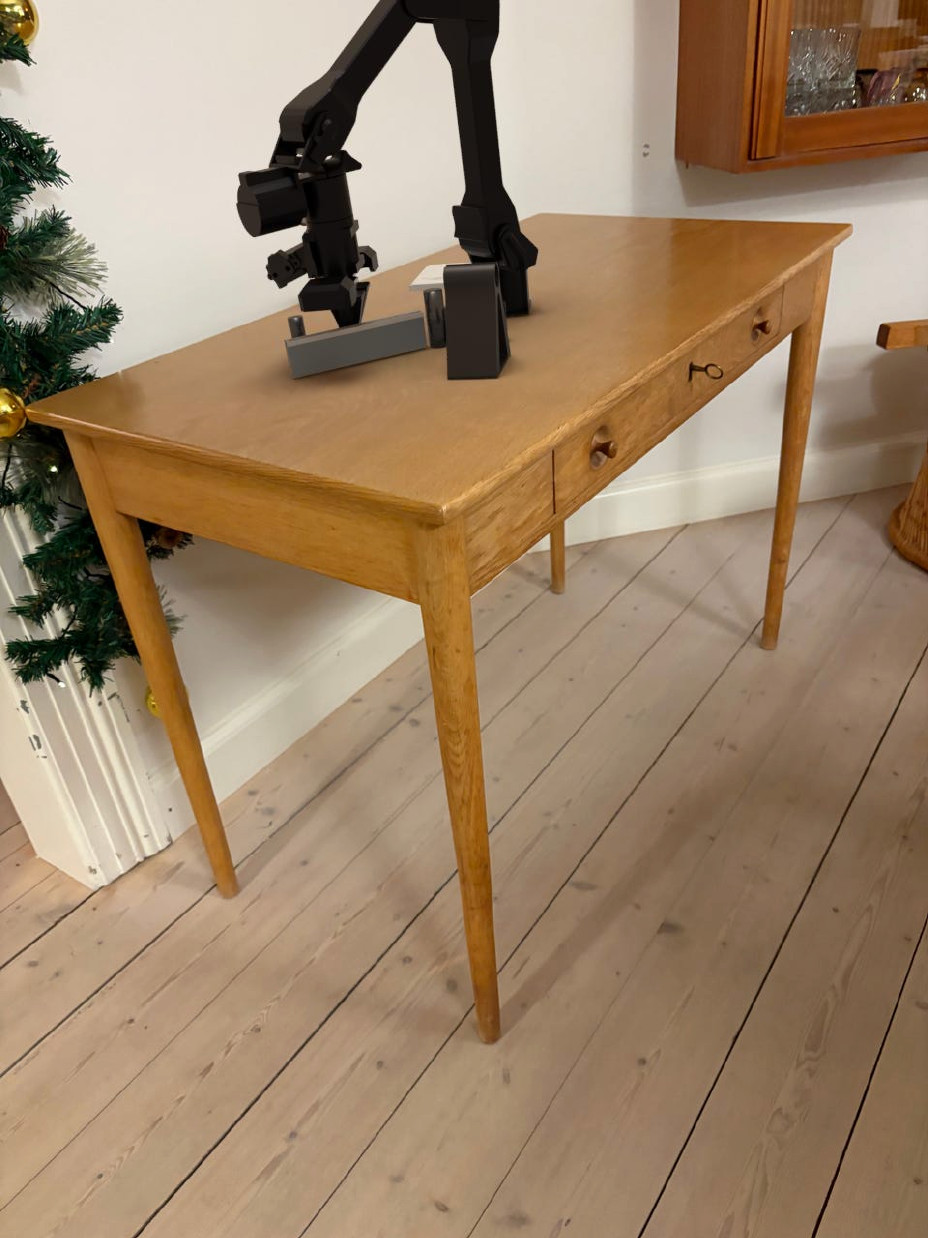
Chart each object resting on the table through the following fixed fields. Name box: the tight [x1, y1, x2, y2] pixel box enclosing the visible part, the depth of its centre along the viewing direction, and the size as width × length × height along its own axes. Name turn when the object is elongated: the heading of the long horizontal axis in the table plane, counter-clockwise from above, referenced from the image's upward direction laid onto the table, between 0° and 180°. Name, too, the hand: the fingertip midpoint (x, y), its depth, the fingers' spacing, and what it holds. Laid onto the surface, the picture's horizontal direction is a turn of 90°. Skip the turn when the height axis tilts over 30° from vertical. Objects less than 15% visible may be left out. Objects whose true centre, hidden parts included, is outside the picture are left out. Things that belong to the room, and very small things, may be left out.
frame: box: [287, 288, 509, 349], centre depth 127 cm, size 29×2×7 cm, turn 79°
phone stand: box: [443, 262, 512, 381], centre depth 115 cm, size 9×6×12 cm, turn 167°
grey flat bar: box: [283, 309, 428, 379], centre depth 123 cm, size 18×1×4 cm, turn 115°
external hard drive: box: [408, 262, 471, 292], centre depth 159 cm, size 2×8×12 cm
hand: (352, 345), depth 126 cm, fingers closed
